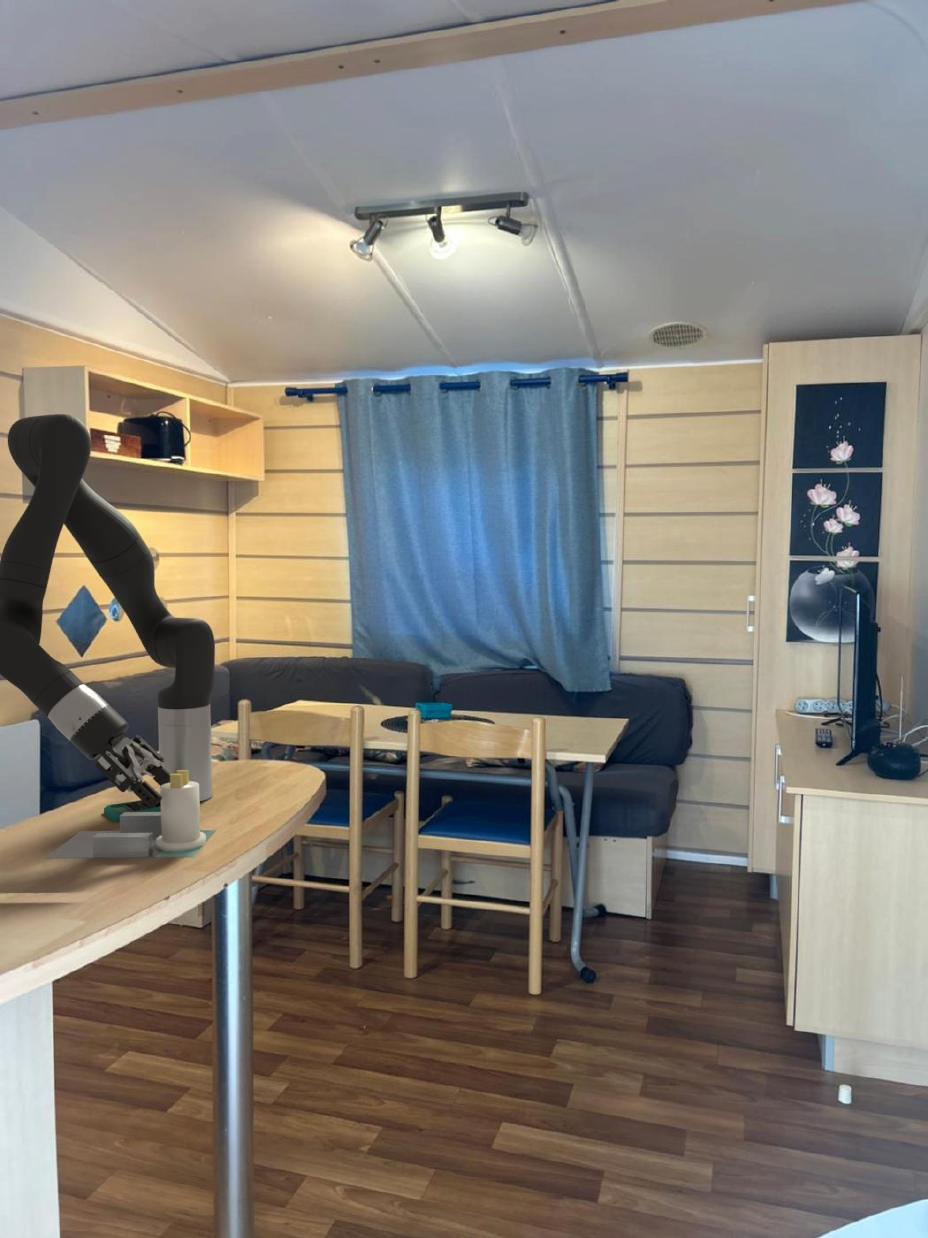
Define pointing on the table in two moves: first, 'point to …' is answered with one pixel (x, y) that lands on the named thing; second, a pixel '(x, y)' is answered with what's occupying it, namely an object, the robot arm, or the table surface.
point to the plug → (180, 815)
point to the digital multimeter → (128, 809)
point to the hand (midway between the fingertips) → (166, 796)
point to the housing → (123, 840)
